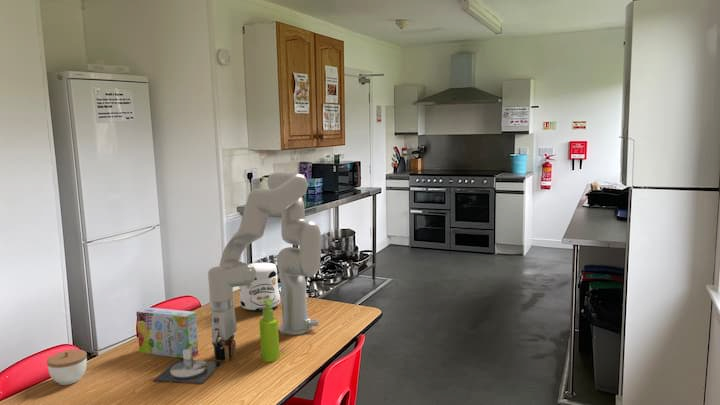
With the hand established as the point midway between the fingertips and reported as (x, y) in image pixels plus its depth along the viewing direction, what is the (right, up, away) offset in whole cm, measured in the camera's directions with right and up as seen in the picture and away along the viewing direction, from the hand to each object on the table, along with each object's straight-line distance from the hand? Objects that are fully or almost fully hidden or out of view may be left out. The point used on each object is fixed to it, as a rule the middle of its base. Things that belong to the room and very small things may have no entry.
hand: (225, 354), depth 175 cm
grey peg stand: (-9, -2, -11) cm, 14 cm away
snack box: (-21, -1, +4) cm, 21 cm away
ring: (0, -1, 0) cm, 1 cm away
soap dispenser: (+16, -1, -2) cm, 16 cm away
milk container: (+3, +6, +49) cm, 49 cm away
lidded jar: (-45, -4, -14) cm, 47 cm away
